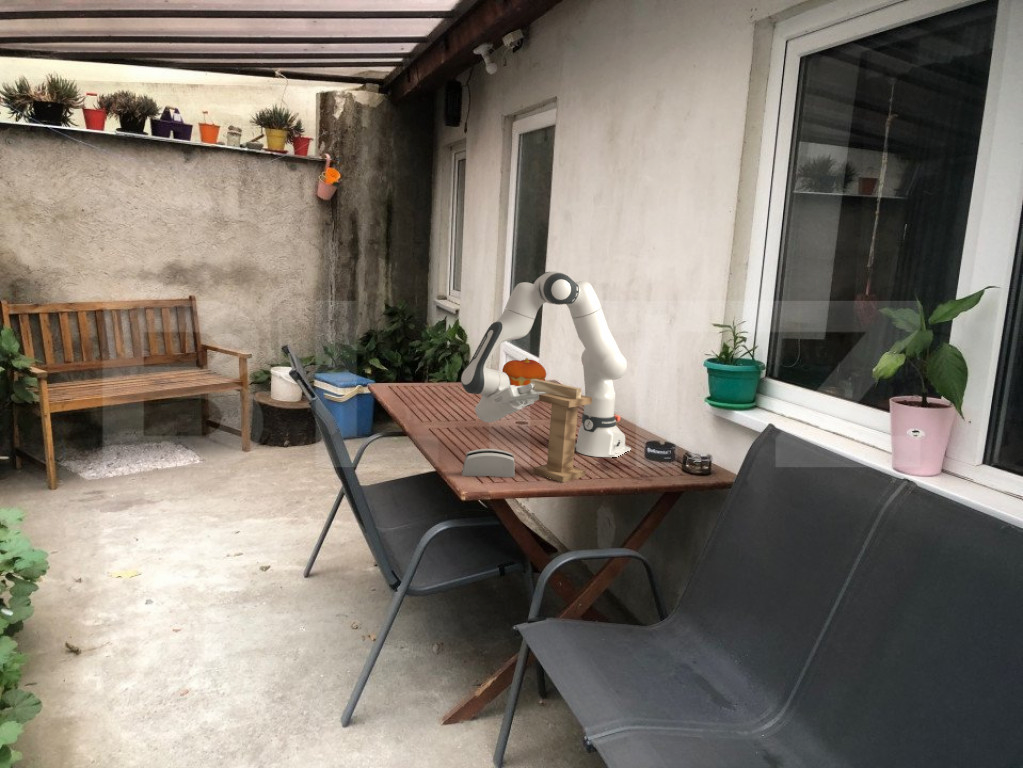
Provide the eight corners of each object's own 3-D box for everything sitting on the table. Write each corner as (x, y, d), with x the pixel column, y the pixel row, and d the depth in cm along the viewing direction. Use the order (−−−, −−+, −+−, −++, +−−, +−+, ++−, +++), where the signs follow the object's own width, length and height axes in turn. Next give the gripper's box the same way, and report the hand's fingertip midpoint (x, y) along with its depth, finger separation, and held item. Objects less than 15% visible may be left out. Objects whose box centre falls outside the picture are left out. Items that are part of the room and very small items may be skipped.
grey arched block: (513, 472, 234) (516, 447, 229) (514, 481, 230) (517, 455, 225) (461, 471, 232) (463, 445, 227) (461, 480, 228) (464, 454, 223)
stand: (556, 467, 243) (562, 391, 239) (585, 476, 235) (592, 397, 231) (533, 473, 234) (539, 394, 230) (562, 482, 227) (569, 401, 222)
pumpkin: (521, 403, 350) (524, 362, 346) (491, 394, 366) (493, 355, 363) (555, 399, 365) (558, 360, 362) (524, 391, 381) (527, 353, 378)
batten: (534, 388, 241) (535, 379, 240) (580, 398, 228) (581, 388, 228) (529, 389, 239) (530, 379, 238) (576, 399, 226) (576, 389, 226)
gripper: (488, 392, 239) (516, 377, 230) (528, 387, 254) (557, 373, 245) (494, 410, 238) (523, 396, 229) (534, 404, 253) (563, 390, 244)
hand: (541, 384), depth 237 cm, fingers open, 7 cm apart
